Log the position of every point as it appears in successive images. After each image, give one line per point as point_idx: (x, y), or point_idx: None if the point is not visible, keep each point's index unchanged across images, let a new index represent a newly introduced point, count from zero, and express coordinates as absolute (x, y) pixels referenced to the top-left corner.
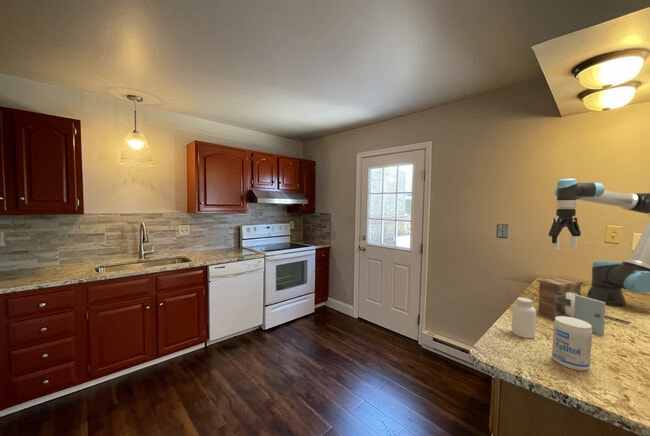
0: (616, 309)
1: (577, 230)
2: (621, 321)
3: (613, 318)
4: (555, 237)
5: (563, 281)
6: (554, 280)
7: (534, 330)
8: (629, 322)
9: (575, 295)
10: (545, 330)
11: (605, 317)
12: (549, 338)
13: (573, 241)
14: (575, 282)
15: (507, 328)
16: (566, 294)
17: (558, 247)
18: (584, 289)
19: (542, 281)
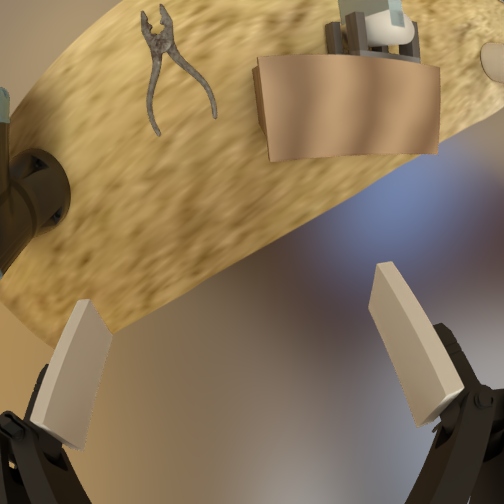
0: (62, 122)
1: (10, 487)
2: (162, 17)
3: (159, 38)
4: (473, 383)
5: (359, 92)
6: (383, 120)
7: (499, 43)
8: (144, 13)
9: (402, 11)
10: (445, 45)
11: (175, 47)
12: (466, 25)
13: (78, 379)
14: (314, 59)
15: (496, 91)
16: (411, 37)
17: (389, 281)
18: (26, 278)
19: (437, 133)
